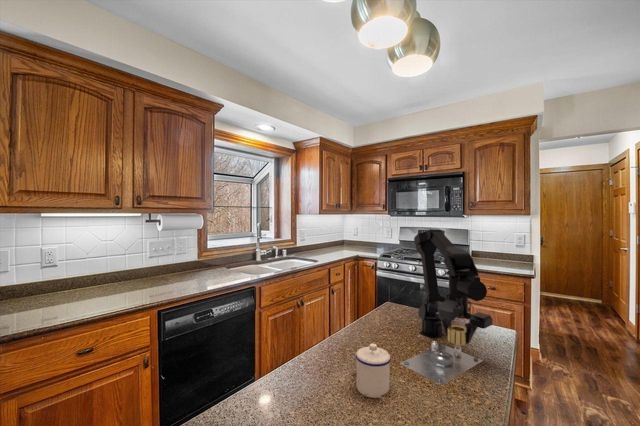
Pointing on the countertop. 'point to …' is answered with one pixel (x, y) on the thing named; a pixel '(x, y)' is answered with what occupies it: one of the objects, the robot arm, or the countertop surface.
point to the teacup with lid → (372, 371)
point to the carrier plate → (440, 371)
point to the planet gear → (457, 335)
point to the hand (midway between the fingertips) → (457, 340)
